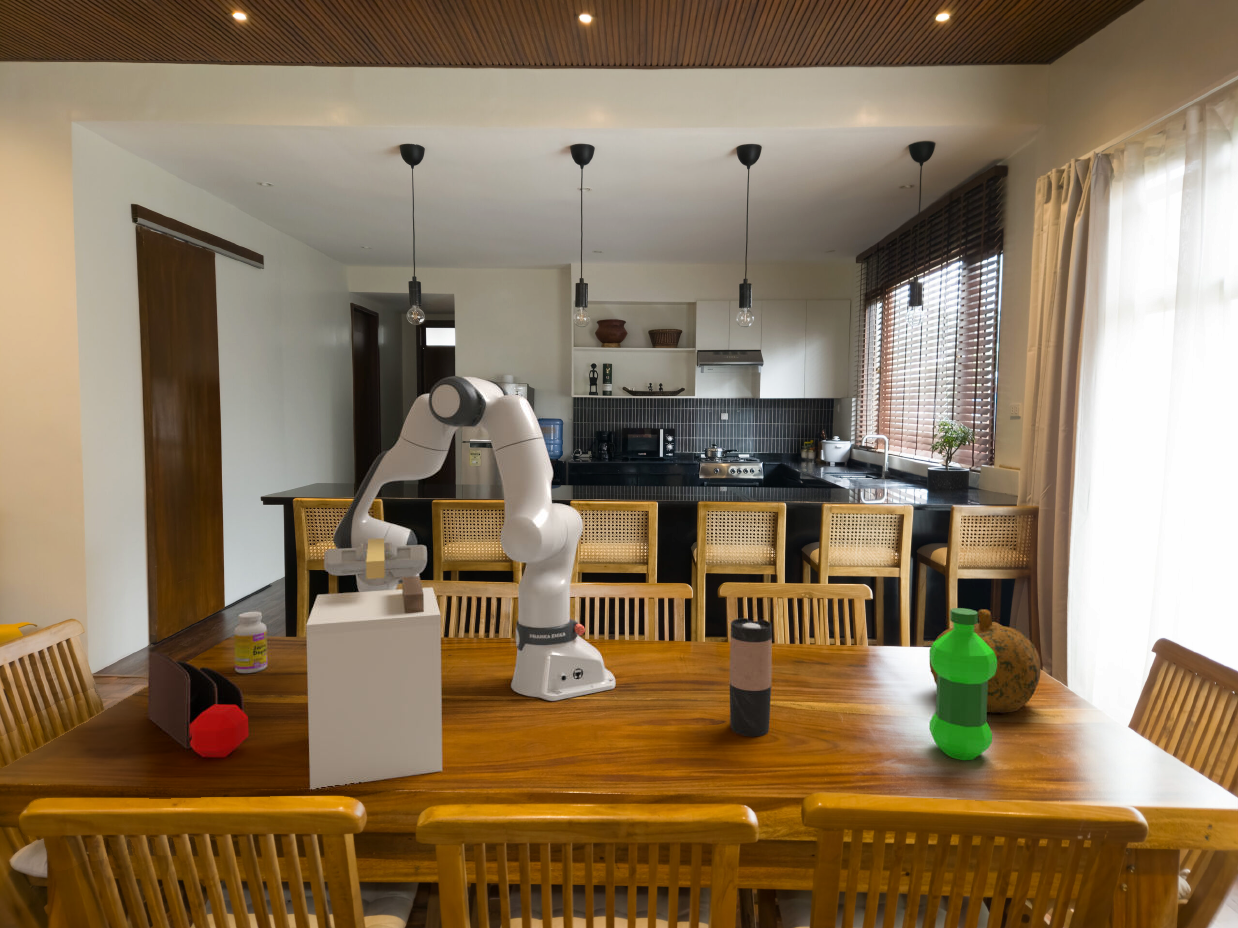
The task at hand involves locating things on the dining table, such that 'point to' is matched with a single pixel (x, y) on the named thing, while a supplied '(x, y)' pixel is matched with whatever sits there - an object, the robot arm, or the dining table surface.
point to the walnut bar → (412, 594)
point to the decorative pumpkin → (1007, 665)
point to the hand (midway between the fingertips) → (376, 546)
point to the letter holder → (185, 694)
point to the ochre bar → (375, 559)
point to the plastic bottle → (962, 688)
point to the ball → (218, 730)
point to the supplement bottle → (250, 643)
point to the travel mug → (750, 676)
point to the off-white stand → (373, 688)
